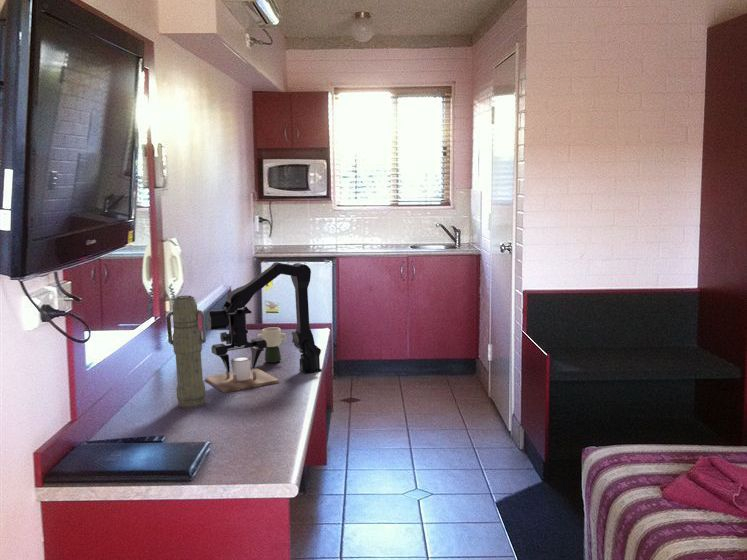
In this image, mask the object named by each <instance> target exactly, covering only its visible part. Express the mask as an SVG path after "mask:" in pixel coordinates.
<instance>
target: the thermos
mask: <svg viewBox="0 0 747 560" xmlns="http://www.w3.org/2000/svg"><path fill="white" fill-rule="evenodd" d="M171 307H172V311H169V312H168V314H166V317H165V319H166V329H167V336H168V337H167V339H168V340H167V342H168V343H169V344H170V345H172V347H173V352H174V355H175V363H176V377H177V380H176V381H177V385H176V389H175V391H176V398H177V406H178V407H179V408H180V409H181V408H182V409H193V408H198V407H199V406H200V407H203V406H204V405H206V403H205V402H206V394H207V393H206V385H205V382H204V380H203V365H202V350H203V344H204V343H205V344H206V341H207V333H206V320H205V317H206V316H205V313H204V311H202V310H200V309H198V305H197V302H196V298H195V297H194V296H192V295H180V296H176V297H174V299H173V303H172V306H171ZM199 315H200V316H201V327H202V329H201V330H202V331H201V330H200V326H199V324H198V323H199V322H198V320H199ZM171 316H172V318H173V319H172V321H173V324H174V326H173V333H172V321H171ZM200 407H199V408H200Z"/></svg>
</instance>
